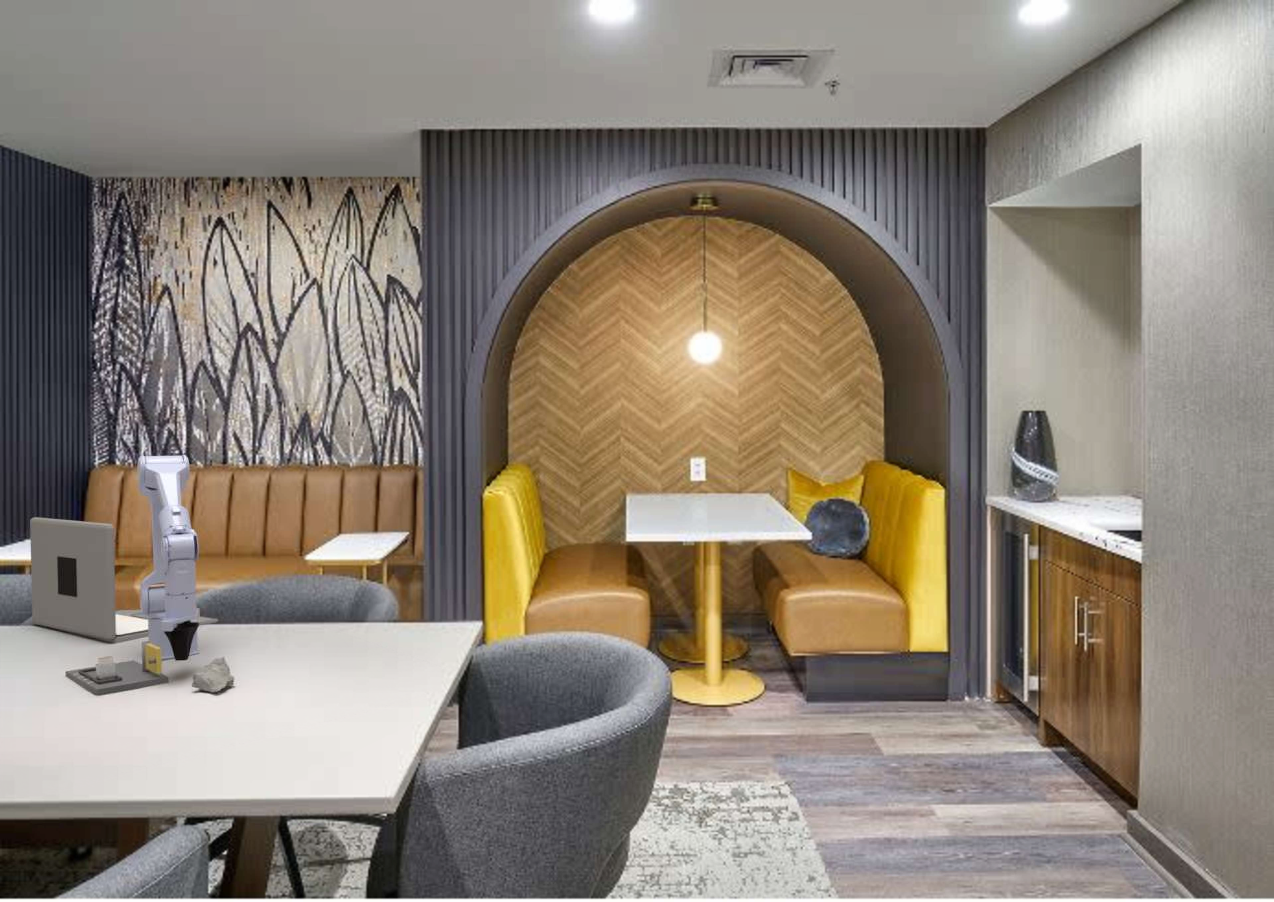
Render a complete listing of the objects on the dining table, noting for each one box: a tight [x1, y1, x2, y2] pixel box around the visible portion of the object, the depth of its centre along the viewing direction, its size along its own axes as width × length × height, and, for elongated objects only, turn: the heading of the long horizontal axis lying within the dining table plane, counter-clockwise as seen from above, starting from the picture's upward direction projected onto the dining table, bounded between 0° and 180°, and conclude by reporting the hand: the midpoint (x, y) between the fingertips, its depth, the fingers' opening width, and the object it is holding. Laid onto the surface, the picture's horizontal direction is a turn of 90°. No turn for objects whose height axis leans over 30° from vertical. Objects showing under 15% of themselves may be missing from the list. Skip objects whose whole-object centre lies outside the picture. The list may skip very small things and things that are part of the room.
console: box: [65, 640, 170, 697], centre depth 198 cm, size 13×20×7 cm, turn 45°
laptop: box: [29, 517, 219, 644], centre depth 247 cm, size 36×28×29 cm
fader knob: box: [95, 655, 116, 681], centre depth 194 cm, size 3×2×4 cm
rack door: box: [145, 643, 163, 674], centre depth 197 cm, size 2×7×5 cm, turn 45°
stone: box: [191, 656, 235, 693], centre depth 193 cm, size 6×12×4 cm, turn 177°
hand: (181, 659), depth 200 cm, fingers closed
